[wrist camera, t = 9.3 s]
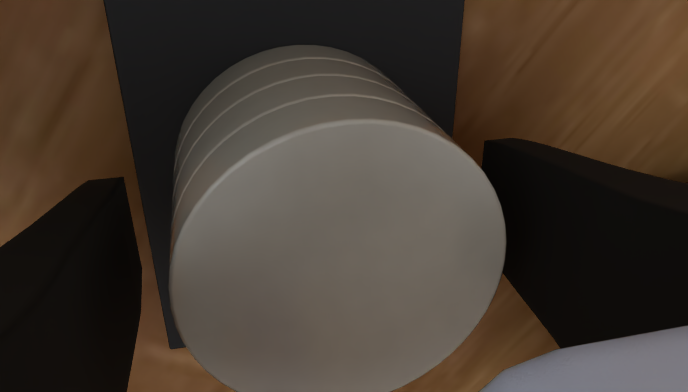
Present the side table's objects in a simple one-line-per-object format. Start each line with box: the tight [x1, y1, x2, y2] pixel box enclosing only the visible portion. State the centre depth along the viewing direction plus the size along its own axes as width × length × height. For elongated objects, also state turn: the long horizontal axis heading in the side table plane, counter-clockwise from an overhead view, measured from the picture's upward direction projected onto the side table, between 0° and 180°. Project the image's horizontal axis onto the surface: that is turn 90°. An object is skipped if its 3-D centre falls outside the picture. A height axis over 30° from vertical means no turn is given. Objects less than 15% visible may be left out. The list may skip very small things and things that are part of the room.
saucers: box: [168, 45, 506, 392], centre depth 11 cm, size 5×5×4 cm
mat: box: [104, 0, 465, 349], centre depth 13 cm, size 9×7×1 cm
